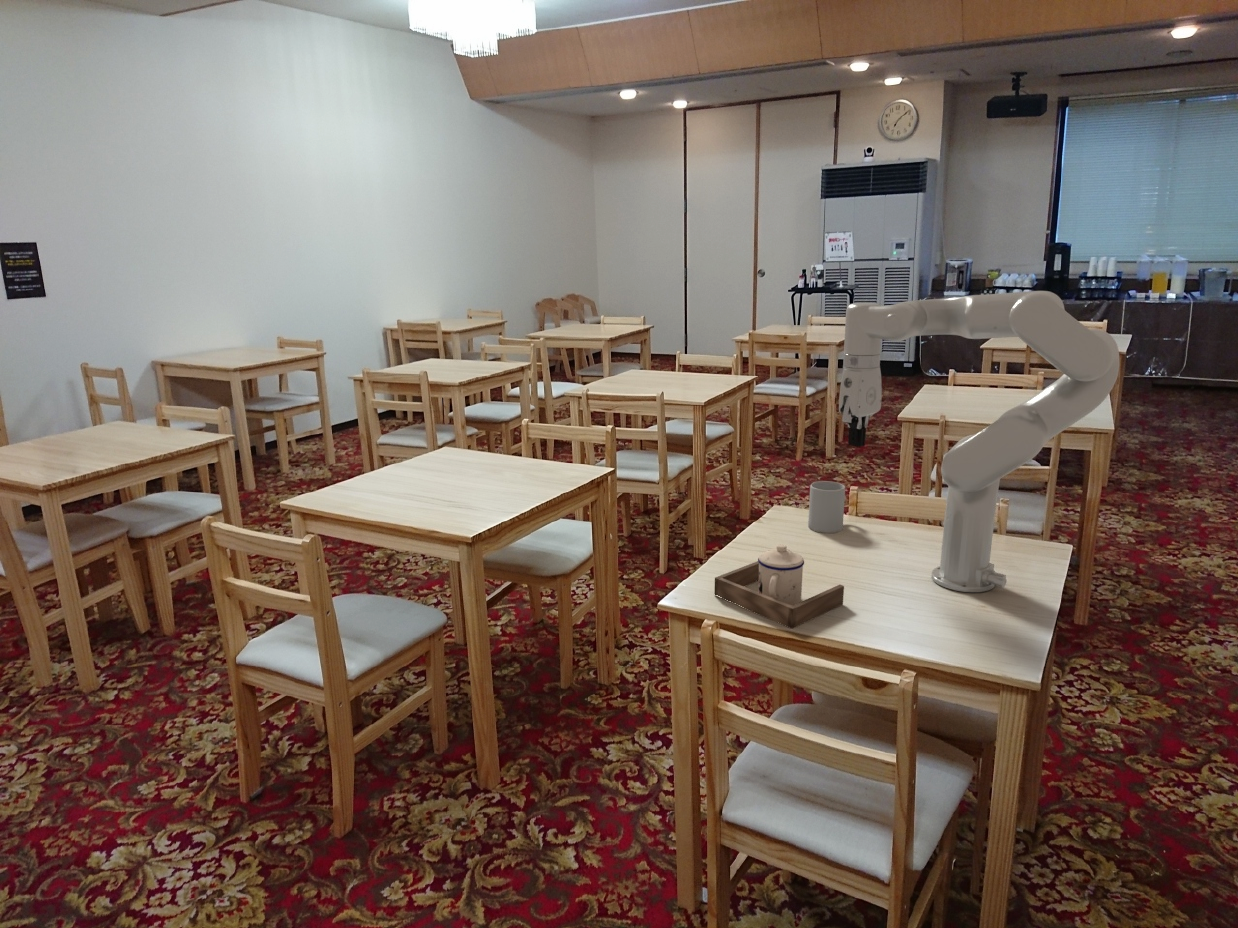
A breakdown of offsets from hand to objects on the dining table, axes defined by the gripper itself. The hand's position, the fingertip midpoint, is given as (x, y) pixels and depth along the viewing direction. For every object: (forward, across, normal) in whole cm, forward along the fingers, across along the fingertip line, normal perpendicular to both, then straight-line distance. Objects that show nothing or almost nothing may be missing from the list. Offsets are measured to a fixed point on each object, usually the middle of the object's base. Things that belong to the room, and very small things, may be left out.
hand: (856, 445), depth 186 cm
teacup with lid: (+27, -30, -3) cm, 41 cm away
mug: (+27, +16, +16) cm, 35 cm away
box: (+27, -30, -2) cm, 40 cm away
